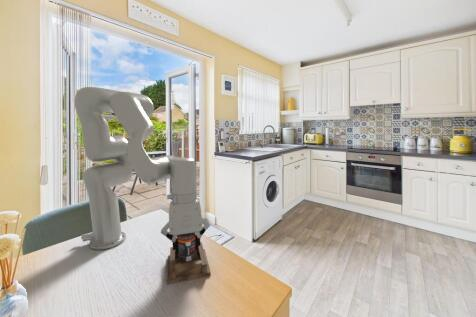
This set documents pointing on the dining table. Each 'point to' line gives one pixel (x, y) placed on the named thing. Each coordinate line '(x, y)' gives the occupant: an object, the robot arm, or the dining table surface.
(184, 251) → the supplement bottle
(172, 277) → the can holder
